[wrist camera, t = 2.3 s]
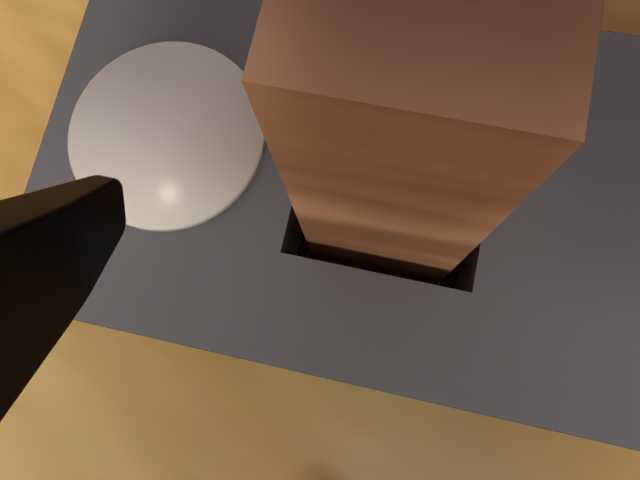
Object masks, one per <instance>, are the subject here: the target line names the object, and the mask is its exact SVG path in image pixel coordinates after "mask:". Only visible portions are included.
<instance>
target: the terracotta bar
mask: <svg viewBox="0 0 640 480" xmlns="http://www.w3.org/2000/svg"><path fill="white" fill-rule="evenodd" d="M603 6H604V0H263V2H262V6H261V9H260V13H259V17H258V21H257V24H256V28H255V32H254V35H253V39H252V43H251V46H250V50H249V54H248V57H247V61H246V65H245V69H244V72H243V76H242V80H241V82H242V84H243V86H244V89H245V91H246V94H247V96H248V99H249V101H250V104H251V106H252V108H253V111H254V113H255V116H256V118H257V121H258V123H259V126H260V128H261V131H262V133H263V135H264V138H265V140H266V143H267V145H268V148H269V150H270V153H271V155H272V157H273V160H274V162H275V165H276V167H277V170H278V172H279V175H280V177H281V180H282V182H283V184H284V187H285V189H286V192H287V194H288V197H289V199H290V202H291V204H292V206H293V209H294V211H295V214H296V216H297V219H298V221H299V224H300V226H301V229H302V231H303V233H304V236H305V238H306V241H307V243H308V246H309V248H310V251H311V253H312V255H313V258H315V259H320V260H324V261H329V262H334V263H339V264H343V265H348V266H353V267H358V268H362V269H367V270H372V271H377V272H381V273H386V274H391V275H396V276H401V277H405V278H410V279H415V280H420V281H424V282H429V283H434V284H438V283H439V282H440V281H441V280H442V279H444V278H445V277H446V276H447V275H448V274H449V273H450V272H451V271H452V270H453V269H454V268H455V267H456V266H457V265H458V264H459V263H460V262H461V261H462V260H463V259H464V258H465V257H466V256H467V255H468V254H469V253H470V252H471V251H472V250H473V249H475V248H476V247H477V246H478V245H479V244H480V243H481V242H482V241H483V240H484V239H485V238H486V237H487V236H488V235H489V234H490V233H491V232H492V231H493V230H494V229H495V228H496V227H497V226H498V225H499V224H500V223H501V222H502V221H503V220H504V219H506V218H507V217H508V216H509V215H510V214H511V213H512V212H513V211H514V210H515V209H516V208H517V207H518V206H519V205H520V204H521V203H522V202H523V201H524V200H525V199H526V198H527V197H528V196H529V195H530V194H531V193H532V192H533V191H534V190H535V189H537V188H538V187H539V186H540V185H541V184H542V183H543V182H544V181H545V180H546V179H547V178H548V177H549V176H550V175H551V174H552V173H553V172H554V171H555V170H556V169H557V168H558V167H559V166H560V165H561V164H562V163H563V162H564V161H565V160H566V159H568V158H569V157H570V156H571V155H572V154H573V153H574V152H575V151H576V150H577V149H578V148H579V147H580V146H581V145H582V144H583V143H584V142H585V135H586V128H587V120H588V113H589V106H590V99H591V92H592V85H593V77H594V70H595V63H596V56H597V49H598V41H599V34H600V27H601V20H602V13H603Z"/></svg>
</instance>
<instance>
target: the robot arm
mask: <svg viewBox="0 0 640 480" xmlns="http://www.w3.org/2000/svg"><path fill="white" fill-rule="evenodd" d="M125 226H126V215H125V205H124V195H123V187H122V184H121V182H120V181H119V180H118V179H116V178H111V177H106V176H101V175H93V176H89V177H85V178H81V179H78V180H74V181H70V182H67V183H63V184H59V185H56V186H52V187H48V188H44V189H41V190H37V191H33V192H30V193H26V194H22V195H18V196H15V197H11V198H7V199H4V200H0V422H1V420H2V419H3V417H4V416H5V414H6V413H7V412H8V410H9V409H10V407H11V406H12V405H13V403H14V402H15V400H16V399H17V398H18V396H19V395H20V393H21V392H22V391H23V389H24V388H25V386H26V385H27V384H28V382H29V381H30V379H31V378H32V377H33V375H34V374H35V372H36V371H37V370H38V368H39V367H40V365H41V364H42V363H43V361H44V360H45V358H46V357H47V356H48V354H49V353H50V351H51V350H52V349H53V347H54V346H55V344H56V343H57V341H58V340H59V339H60V337H61V336H62V334H63V333H64V332H65V330H66V329H67V327H68V326H69V325H70V323H71V322H72V320H73V319H74V318H75V316H76V315H77V313H78V312H79V311H80V309H81V308H82V306H83V305H84V303H85V302H86V300H87V298H88V297H89V295H90V293H91V292H92V290H93V288H94V286H95V285H96V283H97V281H98V279H99V277H100V275H101V274H102V272H103V270H104V268H105V266H106V264H107V263H108V261H109V259H110V257H111V255H112V253H113V252H114V250H115V248H116V246H117V244H118V243H119V241H120V239H121V237H122V235H123V233H124V230H125Z"/></svg>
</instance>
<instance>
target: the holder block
mask: <svg viewBox="0 0 640 480" xmlns="http://www.w3.org/2000/svg"><path fill="white" fill-rule="evenodd" d="M262 2H263V0H89V3H88V6H87V8H86V11H85V14H84V17H83V20H82V23H81V26H80V29H79V32H78V35H77V38H76V41H75V44H74V47H73V50H72V53H71V56H70V59H69V62H68V65H67V68H66V71H65V74H64V77H63V80H62V83H61V86H60V89H59V92H58V95H57V97H56V100H55V103H54V106H53V109H52V112H51V115H50V118H49V121H48V124H47V127H46V130H45V133H44V136H43V139H42V142H41V145H40V148H39V151H38V154H37V157H36V160H35V163H34V166H33V169H32V172H31V175H30V178H29V181H28V184H27V187H26V189H25V192H24V194H26V193H30V192H33V191H37V190H41V189H44V188H48V187H52V186H56V185H59V184H63V183H67V182H70V181H74V180H78V179H81V178H85V177H89V176H93V175H101V176H106V177H111V178H116V179H118V180H119V181H120V182H121V184H122V187H123V195H124V205H125V215H126V226H125V230H124V233H123V235H122V237H121V239H120V241H119V243H118V244H117V246H116V248H115V250H114V252H113V253H112V255H111V257H110V259H109V261H108V263H107V264H106V266H105V268H104V270H103V272H102V274H101V275H100V277H99V279H98V281H97V283H96V285H95V286H94V288H93V290H92V292H91V293H90V295H89V297H88V298H87V300H86V302H85V303H84V305H83V306H82V308H81V309H80V311H79V312H78V313H77V315H76V316H75V318H74V319H73V320H77V321H81V322H86V323H90V324H94V325H98V326H103V327H107V328H111V329H116V330H120V331H124V332H129V333H133V334H137V335H142V336H146V337H150V338H155V339H159V340H163V341H167V342H172V343H176V344H180V345H185V346H189V347H193V348H198V349H202V350H206V351H211V352H215V353H219V354H223V355H228V356H232V357H236V358H241V359H245V360H249V361H254V362H258V363H262V364H267V365H271V366H275V367H279V368H284V369H288V370H292V371H297V372H301V373H305V374H310V375H314V376H318V377H323V378H327V379H331V380H336V381H340V382H344V383H348V384H353V385H357V386H361V387H366V388H370V389H374V390H379V391H383V392H387V393H392V394H396V395H400V396H404V397H409V398H413V399H417V400H422V401H426V402H430V403H435V404H439V405H443V406H448V407H452V408H456V409H460V410H465V411H469V412H473V413H478V414H482V415H486V416H491V417H495V418H499V419H504V420H508V421H512V422H517V423H521V424H525V425H529V426H534V427H538V428H542V429H547V430H551V431H555V432H560V433H564V434H568V435H573V436H577V437H581V438H585V439H590V440H594V441H598V442H603V443H607V444H611V445H616V446H620V447H624V448H629V449H633V450H637V451H640V36H635V35H628V34H622V33H616V32H609V31H603V30H600V34H599V41H598V49H597V56H596V63H595V70H594V77H593V85H592V92H591V99H590V106H589V113H588V120H587V128H586V135H585V142H584V143H583V144H582V145H581V146H580V147H579V148H578V149H577V150H576V151H575V152H574V153H573V154H572V155H571V156H570V157H569V158H568V159H566V160H565V161H564V162H563V163H562V164H561V165H560V166H559V167H558V168H557V169H556V170H555V171H554V172H553V173H552V174H551V175H550V176H549V177H548V178H547V179H546V180H545V181H544V182H543V183H542V184H541V185H540V186H539V187H538V188H537V189H535V190H534V191H533V192H532V193H531V194H530V195H529V196H528V197H527V198H526V199H525V200H524V201H523V202H522V203H521V204H520V205H519V206H518V207H517V208H516V209H515V210H514V211H513V212H512V213H511V214H510V215H509V216H508V217H507V218H506V219H504V220H503V221H502V222H501V223H500V224H499V225H498V226H497V227H496V228H495V229H494V230H493V231H492V232H491V233H490V234H489V235H488V236H487V237H486V238H485V239H484V240H483V241H482V242H481V243H480V244H479V245H478V246H477V247H476V248H475V249H473V250H472V251H471V252H470V253H469V254H468V255H467V256H466V257H465V258H464V259H463V260H462V261H461V262H460V263H459V268H458V274H457V280H456V285H455V289H452V288H448V287H443V286H438V285H433V284H429V283H424V282H419V281H414V280H410V279H405V278H400V277H395V276H391V275H386V274H381V273H376V272H371V271H367V270H362V269H357V268H352V267H348V266H343V265H338V264H333V263H329V262H324V261H319V260H314V259H310V258H305V257H300V256H297V253H298V249H299V244H300V240H301V236H302V232H303V231H302V229H301V226H300V224H299V221H298V219H297V216H296V214H295V211H294V209H293V206H292V204H291V202H290V199H289V197H288V194H287V192H286V189H285V187H284V184H283V182H282V180H281V177H280V175H279V172H278V170H277V167H276V165H275V162H274V160H273V157H272V155H271V153H270V150H269V148H268V145H267V143H266V140H265V138H264V135H263V133H262V131H261V128H260V126H259V123H258V121H257V118H256V116H255V113H254V111H253V108H252V106H251V104H250V101H249V99H248V96H247V94H246V91H245V89H244V86H243V84H242V82H241V80H242V76H243V72H244V69H245V65H246V61H247V57H248V54H249V50H250V46H251V43H252V39H253V35H254V32H255V28H256V24H257V21H258V17H259V13H260V9H261V6H262Z"/></svg>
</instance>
